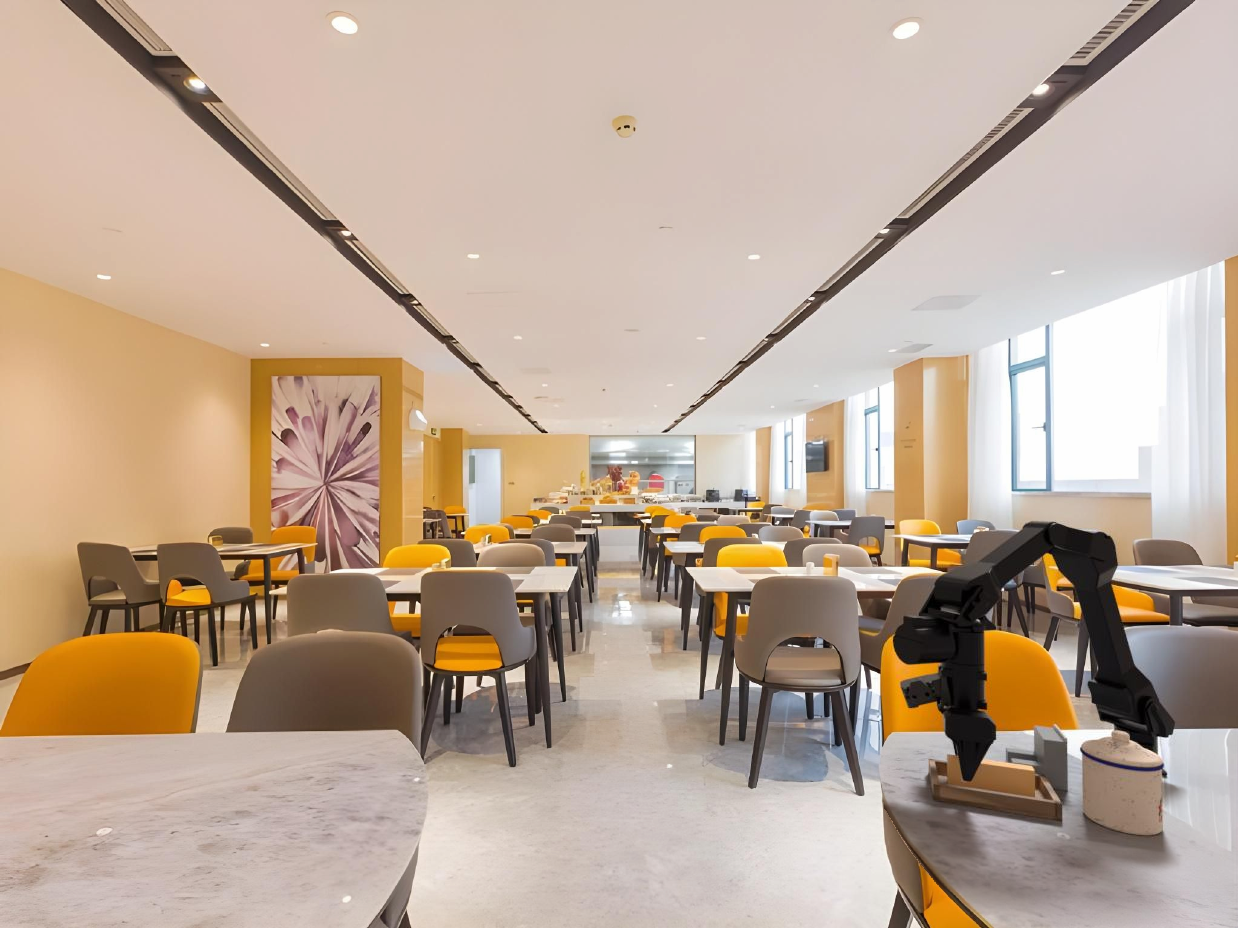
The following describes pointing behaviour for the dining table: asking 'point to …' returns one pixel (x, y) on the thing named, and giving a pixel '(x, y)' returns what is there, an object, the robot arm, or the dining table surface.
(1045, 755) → the grey slotted holder
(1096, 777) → the teacup with lid
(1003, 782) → the tan elongated block
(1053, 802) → the tray
